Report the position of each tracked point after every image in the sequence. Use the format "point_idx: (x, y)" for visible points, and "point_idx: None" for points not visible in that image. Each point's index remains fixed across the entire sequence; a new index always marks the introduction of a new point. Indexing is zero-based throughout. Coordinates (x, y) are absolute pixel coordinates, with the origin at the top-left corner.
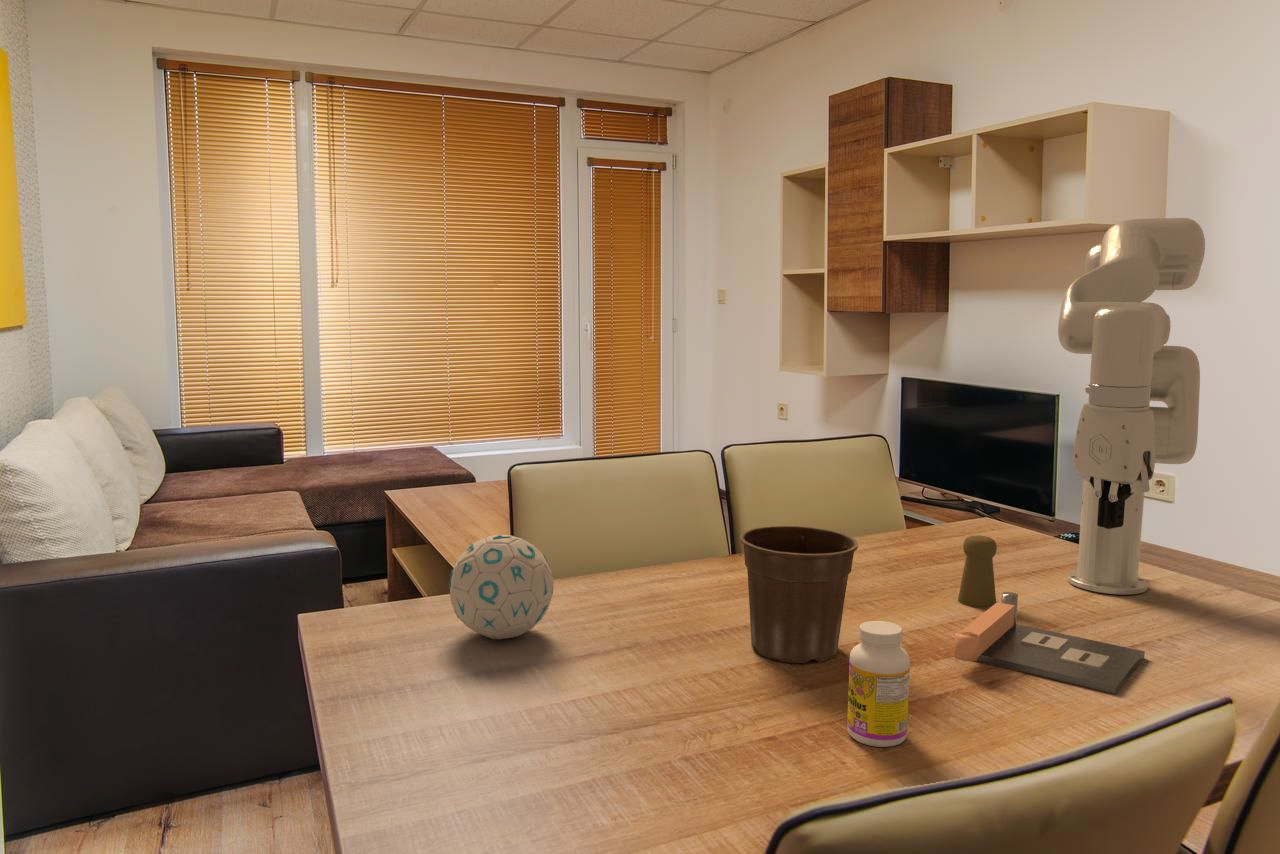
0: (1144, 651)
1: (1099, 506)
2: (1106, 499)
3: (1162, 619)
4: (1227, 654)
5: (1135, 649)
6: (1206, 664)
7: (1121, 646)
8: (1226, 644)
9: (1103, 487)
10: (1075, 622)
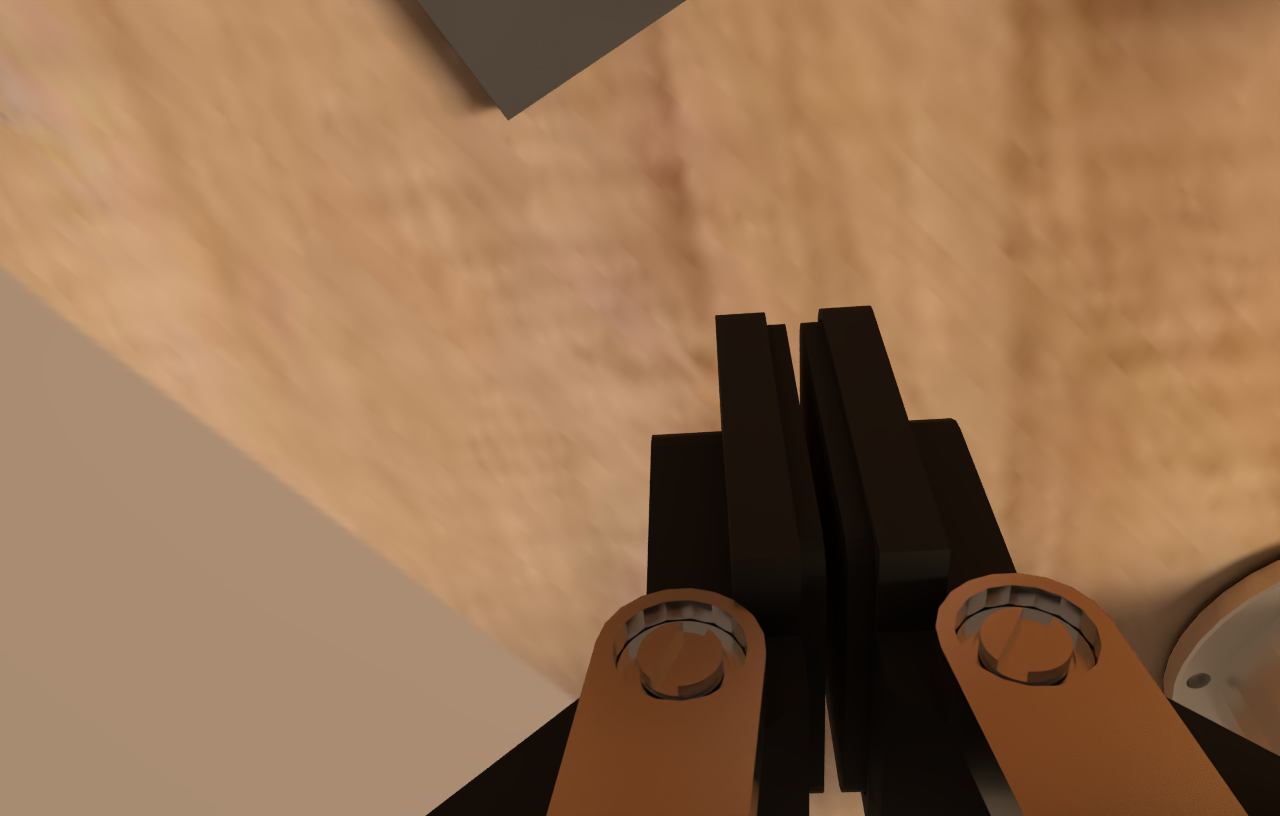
0: (506, 116)
1: (892, 461)
2: (871, 633)
3: None
4: (474, 477)
5: (541, 92)
6: (385, 319)
7: (603, 54)
8: (572, 550)
9: (991, 799)
10: (1070, 165)
